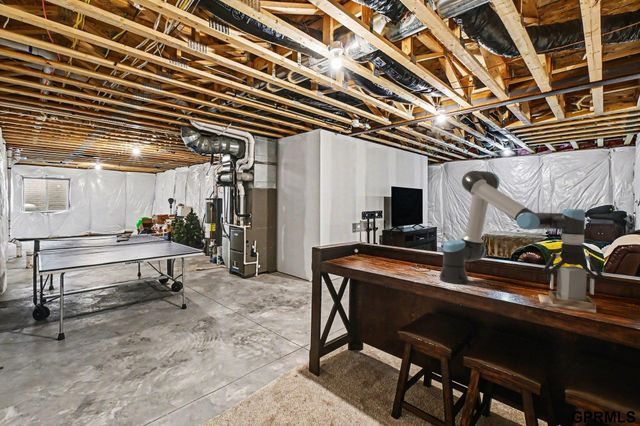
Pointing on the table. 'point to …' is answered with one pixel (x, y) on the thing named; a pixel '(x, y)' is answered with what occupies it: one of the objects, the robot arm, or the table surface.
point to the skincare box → (571, 283)
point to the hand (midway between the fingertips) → (571, 291)
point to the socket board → (567, 302)
